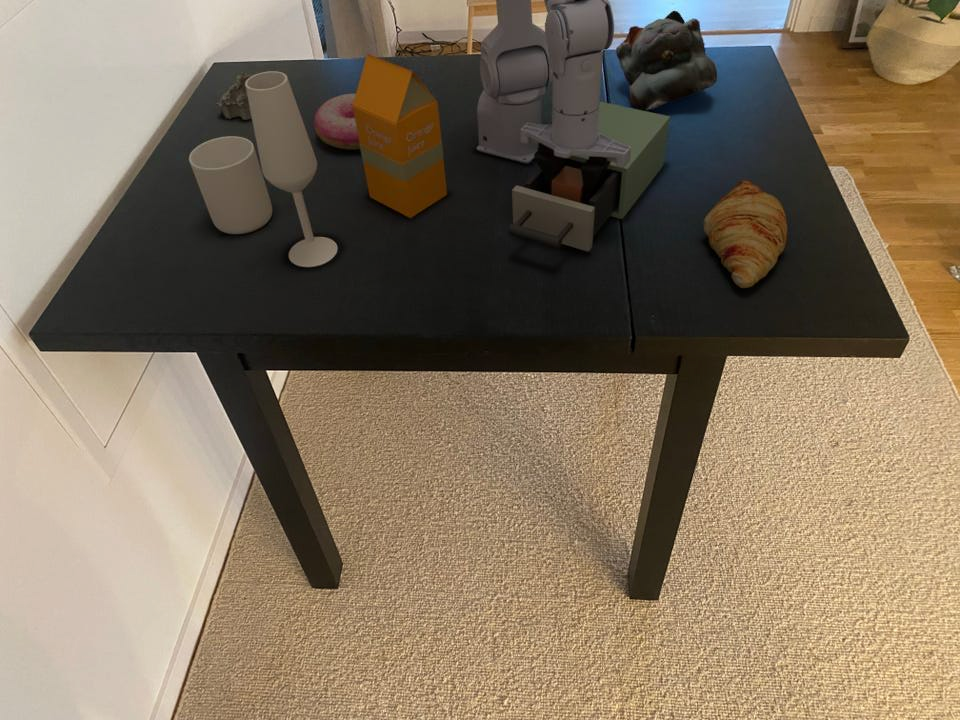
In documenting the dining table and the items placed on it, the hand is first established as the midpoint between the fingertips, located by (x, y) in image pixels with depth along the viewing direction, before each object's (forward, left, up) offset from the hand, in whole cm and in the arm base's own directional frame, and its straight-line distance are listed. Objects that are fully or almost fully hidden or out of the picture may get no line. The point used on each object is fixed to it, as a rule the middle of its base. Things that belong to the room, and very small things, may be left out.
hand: (572, 199), depth 99 cm
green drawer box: (0, +11, -3) cm, 11 cm away
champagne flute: (-28, -22, -3) cm, 36 cm away
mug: (-43, -19, -3) cm, 47 cm away
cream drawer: (0, -2, -2) cm, 3 cm away
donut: (-42, +6, -3) cm, 43 cm away
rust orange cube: (0, 0, -1) cm, 1 cm away
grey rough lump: (-66, +6, -3) cm, 66 cm away
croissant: (+22, +5, -3) cm, 23 cm away
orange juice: (-24, -5, -3) cm, 25 cm away
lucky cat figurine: (-2, +39, -3) cm, 39 cm away
